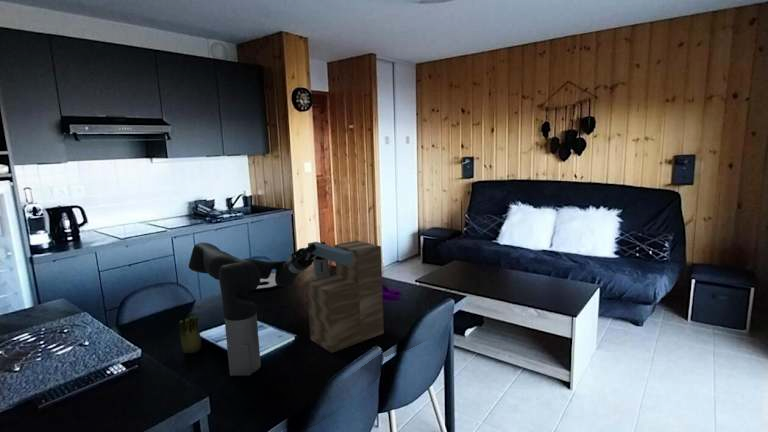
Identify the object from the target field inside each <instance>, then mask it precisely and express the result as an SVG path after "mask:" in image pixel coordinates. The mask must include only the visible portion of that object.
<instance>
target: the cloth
mask: <svg viewBox="0 0 768 432" xmlns="http://www.w3.org/2000/svg"><path fill="white" fill-rule="evenodd" d="M382 294H383V303H391V302H392V301H394V300H397V301H398V300H400V299H403V297H402V296H400V295H399V294H401V292H400V290H398V289H396V288H393V289H391V288H390V289H389V287H388V286H386V285H385V284H383V283H382Z"/></svg>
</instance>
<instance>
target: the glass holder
mask: <svg viewBox="0 0 768 432" xmlns="http://www.w3.org/2000/svg"><path fill="white" fill-rule="evenodd" d="M331 264H332V261H331V260H328V259H325V258H322V257H319V256H316V257H315V258H314V261H313V263H312V266H313V267H312V268H313V276H312V277H313V279H320V278H324V277H328V276H331V274H330V273H329V270H330V268H331Z"/></svg>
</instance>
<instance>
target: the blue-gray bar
mask: <svg viewBox="0 0 768 432" xmlns="http://www.w3.org/2000/svg"><path fill="white" fill-rule="evenodd" d="M311 244H315V248H316V249H315V250H314V251H313V252H312V253H311V254H313V255H316V256H319V257H322V258H325V259H328V261H330V260H331V262H332V263H333V262H334V263H335V264H336V263H339V264H342V265H349V264H353V263H354V261H353V253H352V252H349V251H346V250H342V249H339V248H336V247H335V246H331V245H328V244H326V243H325V244H322V242H318V241H313V242H308V243H307V247H309V246H310V245H311Z"/></svg>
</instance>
